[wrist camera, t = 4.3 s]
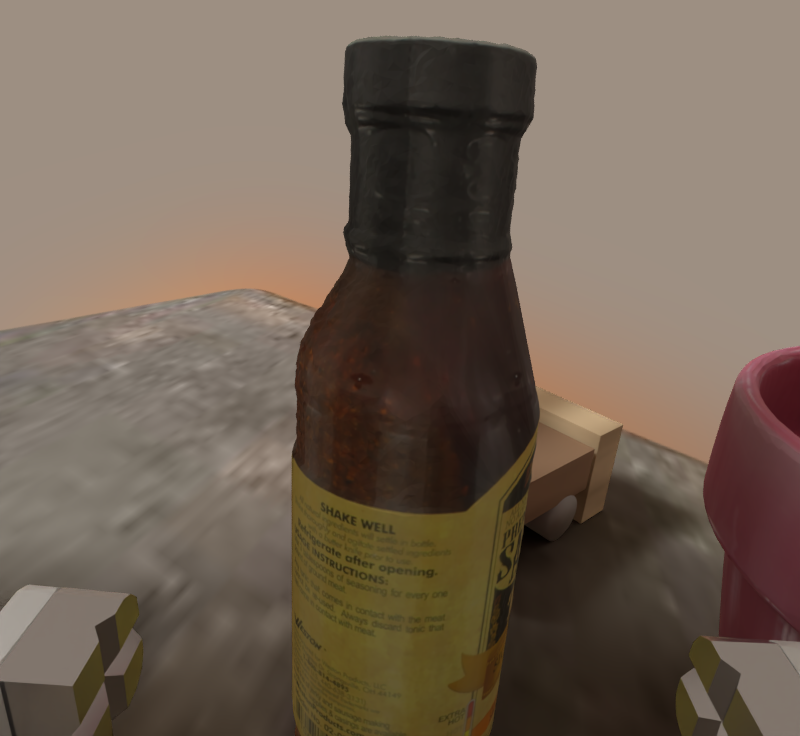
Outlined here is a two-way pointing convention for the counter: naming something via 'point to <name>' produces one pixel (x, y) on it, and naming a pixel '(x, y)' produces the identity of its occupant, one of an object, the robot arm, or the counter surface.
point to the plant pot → (759, 500)
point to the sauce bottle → (415, 403)
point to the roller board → (569, 465)
